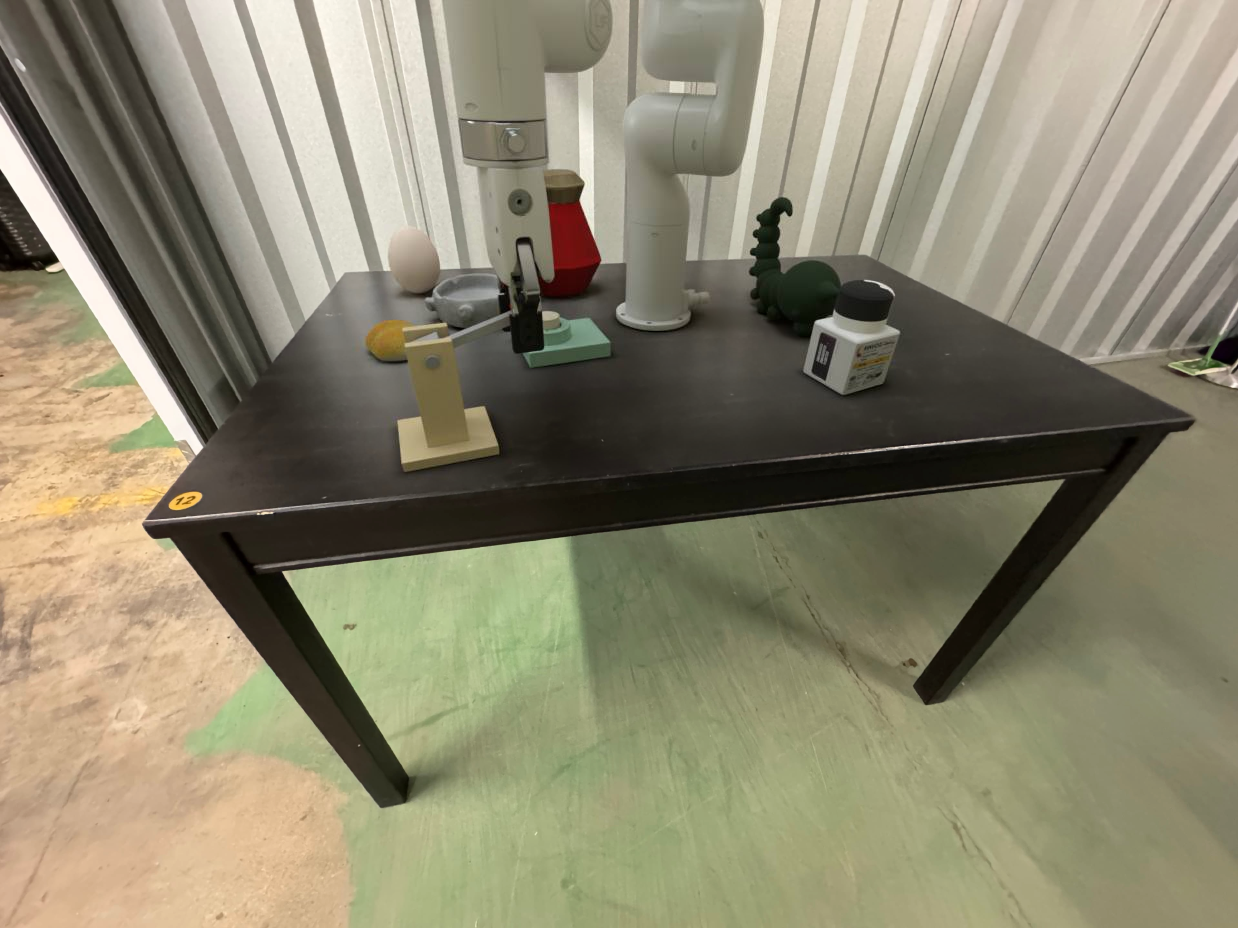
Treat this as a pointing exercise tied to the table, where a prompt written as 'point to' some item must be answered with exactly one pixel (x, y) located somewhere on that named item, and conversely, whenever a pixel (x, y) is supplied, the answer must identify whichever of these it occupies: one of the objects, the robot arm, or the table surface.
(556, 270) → the bottle
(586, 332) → the button panel
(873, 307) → the container
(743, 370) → the table surface
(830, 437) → the table surface
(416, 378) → the bracket
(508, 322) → the lever
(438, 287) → the dish
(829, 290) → the segmented green worm
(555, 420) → the table surface
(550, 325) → the button
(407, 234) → the egg
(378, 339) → the bread roll
